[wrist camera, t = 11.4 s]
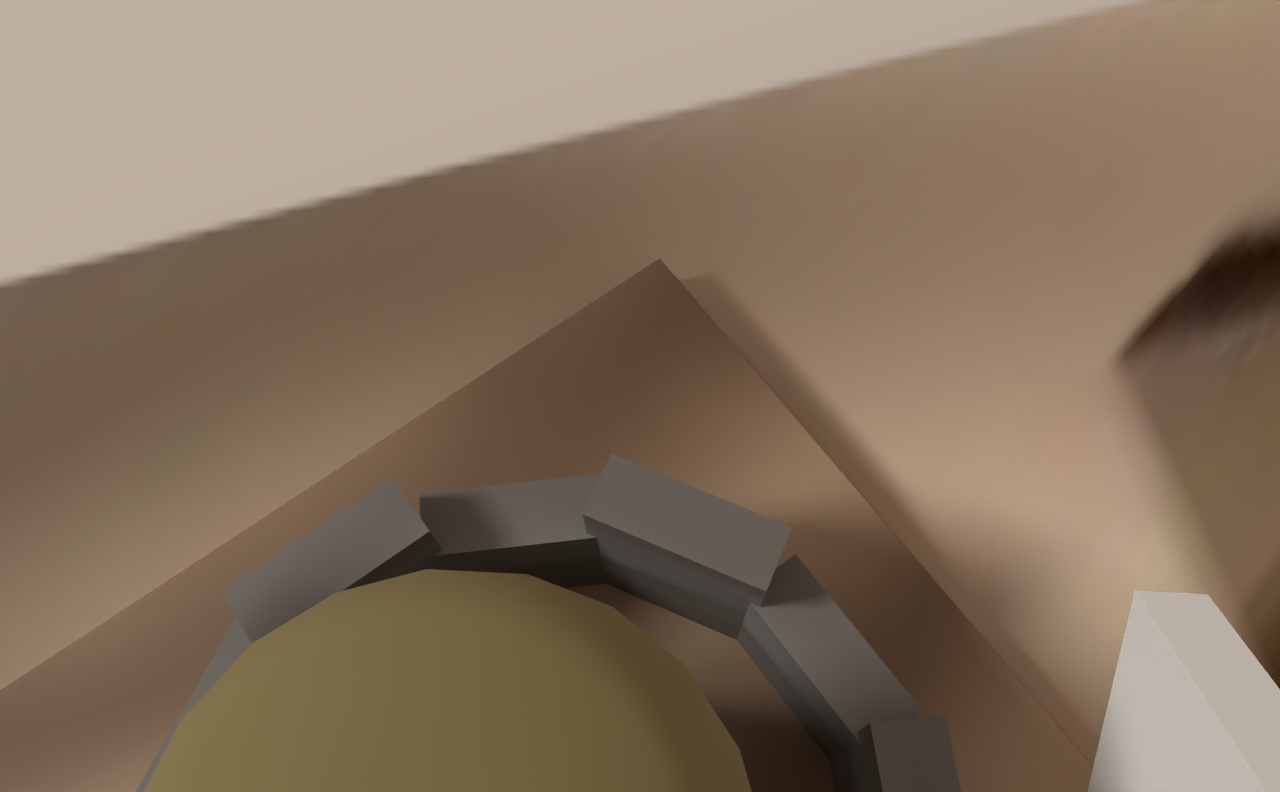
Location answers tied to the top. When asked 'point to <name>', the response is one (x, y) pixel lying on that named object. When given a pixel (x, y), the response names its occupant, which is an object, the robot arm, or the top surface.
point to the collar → (595, 572)
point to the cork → (453, 699)
